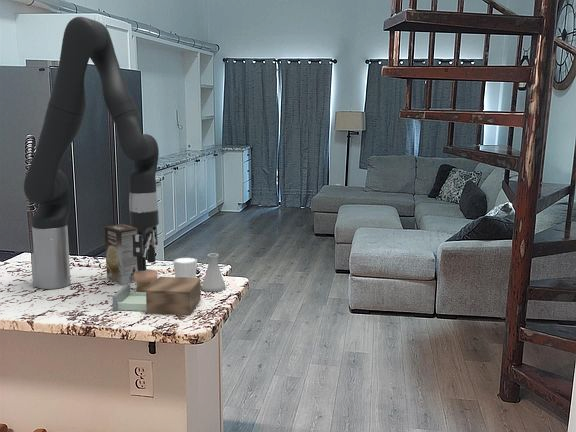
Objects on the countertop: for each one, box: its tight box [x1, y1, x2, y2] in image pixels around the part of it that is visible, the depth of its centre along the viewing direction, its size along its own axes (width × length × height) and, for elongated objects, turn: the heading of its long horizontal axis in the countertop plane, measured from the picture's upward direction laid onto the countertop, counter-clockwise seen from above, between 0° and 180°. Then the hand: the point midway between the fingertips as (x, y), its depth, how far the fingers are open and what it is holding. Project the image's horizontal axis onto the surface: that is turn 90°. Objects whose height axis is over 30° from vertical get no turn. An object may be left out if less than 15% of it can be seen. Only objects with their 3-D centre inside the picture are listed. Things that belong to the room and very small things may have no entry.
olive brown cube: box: [135, 281, 155, 293], centre depth 160 cm, size 4×4×4 cm
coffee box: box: [104, 223, 138, 286], centre depth 169 cm, size 9×6×16 cm
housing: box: [146, 276, 202, 316], centre depth 148 cm, size 11×12×6 cm
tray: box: [112, 283, 147, 312], centre depth 149 cm, size 11×10×4 cm
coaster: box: [134, 268, 158, 283], centre depth 160 cm, size 6×6×2 cm
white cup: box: [172, 257, 198, 278], centre depth 168 cm, size 7×7×7 cm
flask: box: [200, 252, 226, 293], centre depth 163 cm, size 7×7×10 cm
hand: (146, 266), depth 159 cm, fingers open, 8 cm apart
